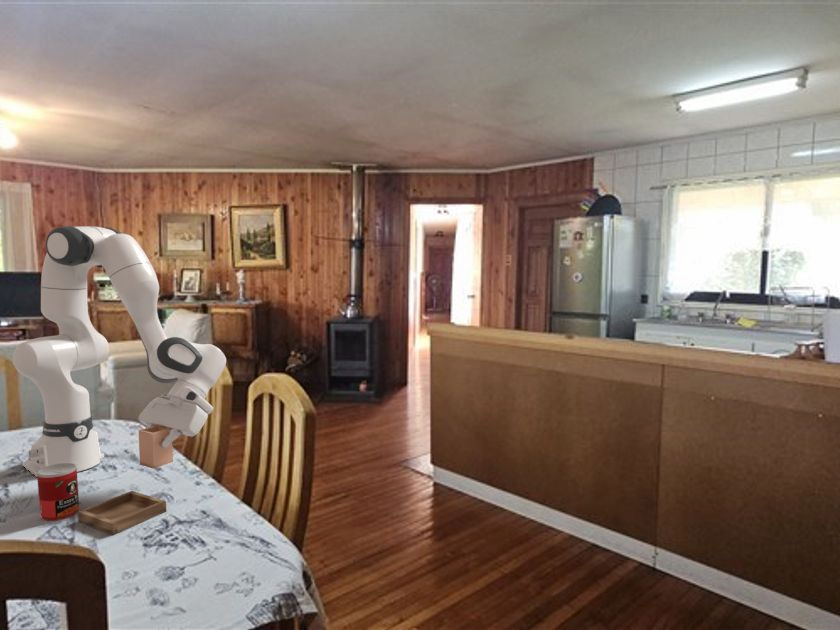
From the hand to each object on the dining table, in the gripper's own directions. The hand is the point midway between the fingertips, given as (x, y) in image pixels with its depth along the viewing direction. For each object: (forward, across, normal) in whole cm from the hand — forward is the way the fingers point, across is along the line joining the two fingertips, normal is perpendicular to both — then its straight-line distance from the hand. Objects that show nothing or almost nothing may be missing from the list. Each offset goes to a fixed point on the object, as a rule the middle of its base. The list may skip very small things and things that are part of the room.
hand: (153, 444), depth 138 cm
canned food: (+22, -9, -4) cm, 24 cm away
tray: (+18, +6, 0) cm, 19 cm away
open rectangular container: (+3, 0, +4) cm, 5 cm away
